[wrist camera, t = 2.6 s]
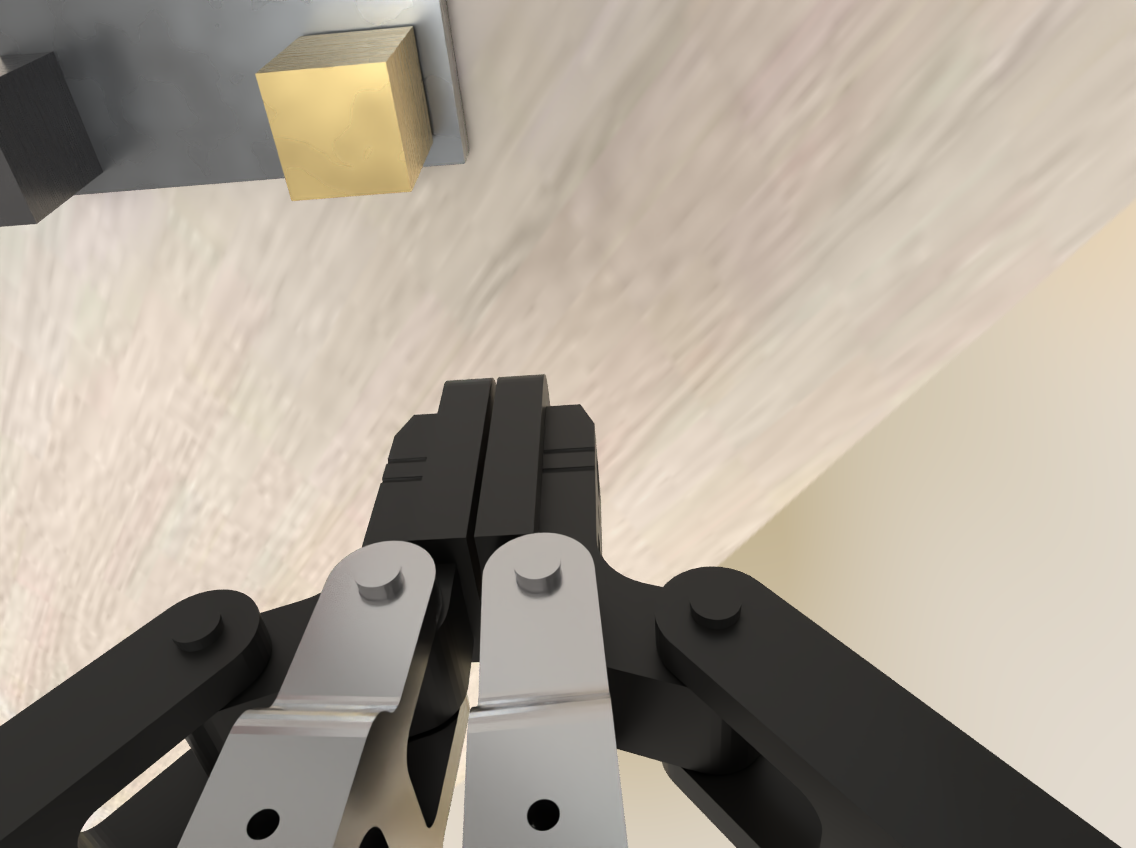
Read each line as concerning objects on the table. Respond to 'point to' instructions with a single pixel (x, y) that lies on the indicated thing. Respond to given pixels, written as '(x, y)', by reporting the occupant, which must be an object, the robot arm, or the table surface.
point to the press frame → (174, 91)
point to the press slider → (348, 113)
